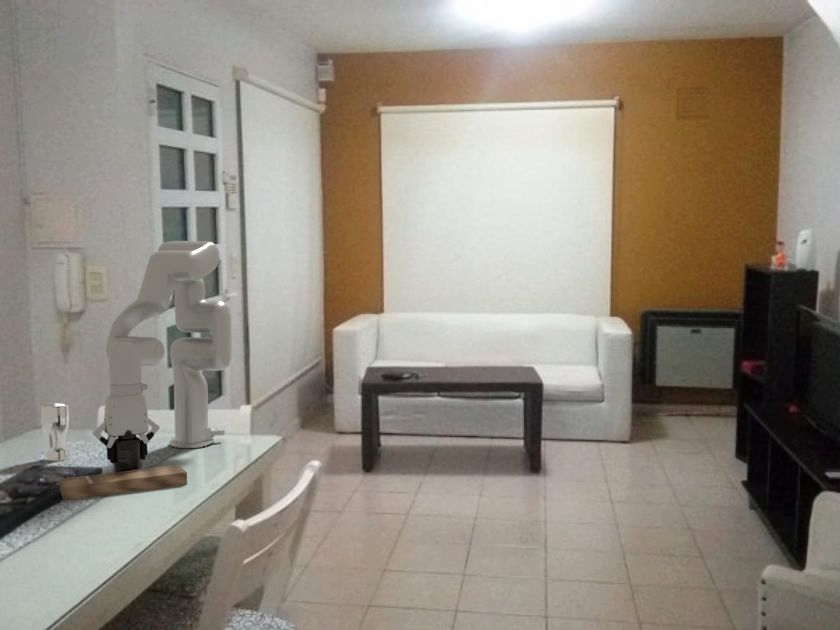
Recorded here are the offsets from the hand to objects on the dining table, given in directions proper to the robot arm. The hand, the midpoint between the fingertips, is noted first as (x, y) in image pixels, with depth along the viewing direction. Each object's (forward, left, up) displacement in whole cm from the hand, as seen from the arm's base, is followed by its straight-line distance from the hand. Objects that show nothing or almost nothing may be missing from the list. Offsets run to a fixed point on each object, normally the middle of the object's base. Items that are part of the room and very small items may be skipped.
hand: (127, 459), depth 212 cm
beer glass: (+13, -29, -5) cm, 33 cm away
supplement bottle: (0, 0, -4) cm, 4 cm away
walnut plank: (+2, +9, -5) cm, 10 cm away
